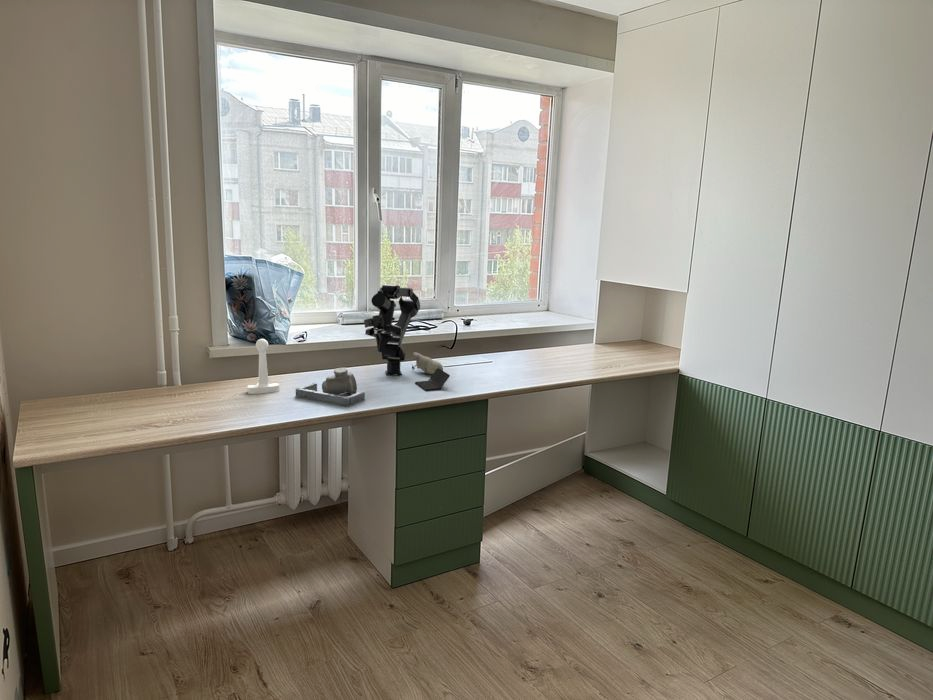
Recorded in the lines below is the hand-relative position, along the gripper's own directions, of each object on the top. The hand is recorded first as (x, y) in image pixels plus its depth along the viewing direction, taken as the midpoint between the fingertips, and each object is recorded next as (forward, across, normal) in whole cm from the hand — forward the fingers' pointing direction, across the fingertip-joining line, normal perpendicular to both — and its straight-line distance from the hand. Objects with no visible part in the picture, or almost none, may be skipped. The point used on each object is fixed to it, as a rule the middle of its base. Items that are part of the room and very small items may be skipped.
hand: (379, 352), depth 248 cm
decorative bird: (+3, -4, +27) cm, 28 cm away
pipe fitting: (+21, +4, -16) cm, 26 cm away
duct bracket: (+23, +6, -20) cm, 31 cm away
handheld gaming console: (+11, +12, +19) cm, 25 cm away
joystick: (+23, -16, -37) cm, 46 cm away
